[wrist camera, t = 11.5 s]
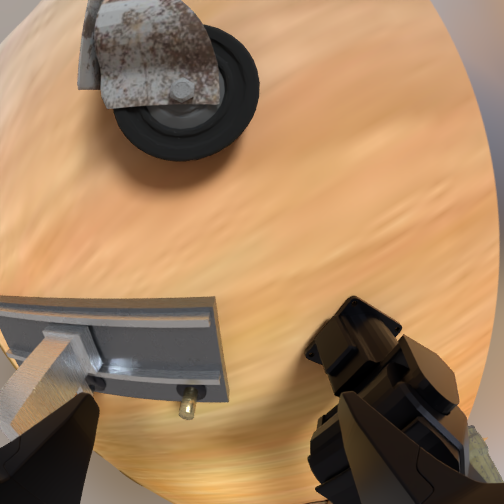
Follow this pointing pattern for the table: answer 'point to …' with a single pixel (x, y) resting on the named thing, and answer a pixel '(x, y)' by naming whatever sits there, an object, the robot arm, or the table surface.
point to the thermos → (482, 457)
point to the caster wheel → (167, 76)
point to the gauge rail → (133, 344)
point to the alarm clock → (322, 503)
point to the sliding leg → (48, 377)
